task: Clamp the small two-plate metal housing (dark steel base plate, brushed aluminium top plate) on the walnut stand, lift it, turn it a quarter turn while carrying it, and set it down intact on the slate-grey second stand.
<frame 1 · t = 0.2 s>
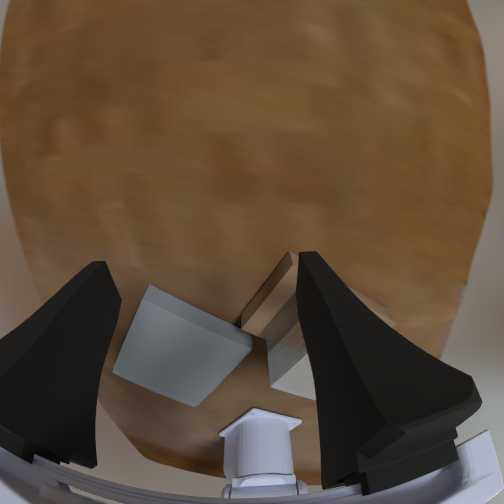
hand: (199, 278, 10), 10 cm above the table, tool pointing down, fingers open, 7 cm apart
stand a: (320, 313, 24), on the table
housing: (325, 328, 22), point 2 cm above the table, touching stand a
stand b: (176, 349, 26), on the table
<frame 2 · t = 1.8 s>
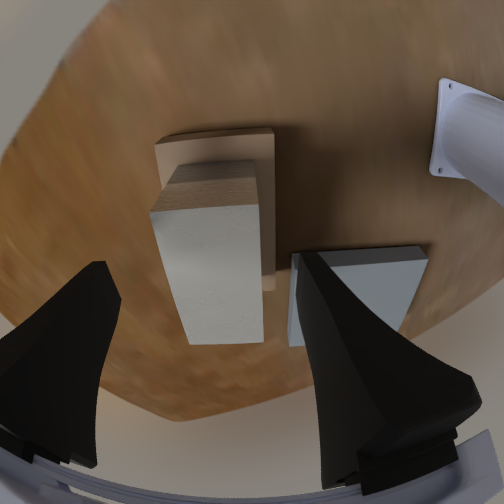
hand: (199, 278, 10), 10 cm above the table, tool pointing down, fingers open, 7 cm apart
stand a: (223, 212, 20), on the table
housing: (222, 226, 19), point 2 cm above the table, touching stand a
stand b: (351, 292, 25), on the table
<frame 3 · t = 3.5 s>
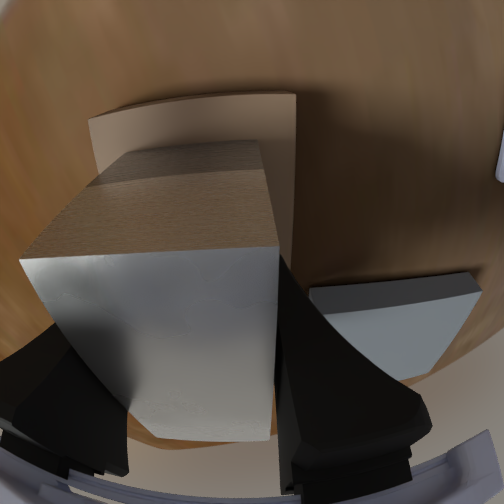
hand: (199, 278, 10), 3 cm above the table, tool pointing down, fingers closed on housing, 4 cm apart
stand a: (208, 229, 13), on the table
housing: (203, 255, 11), point 2 cm above the table, touching gripper, stand a
stand b: (381, 331, 18), on the table
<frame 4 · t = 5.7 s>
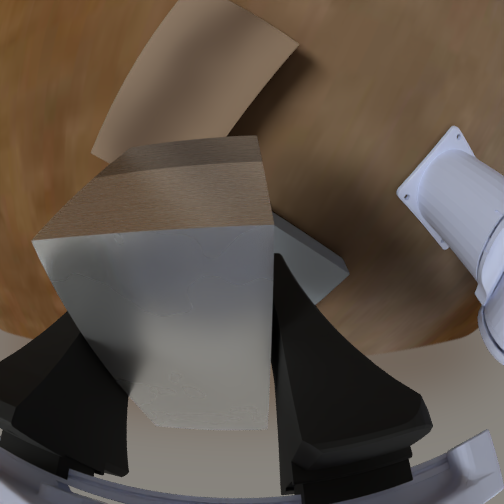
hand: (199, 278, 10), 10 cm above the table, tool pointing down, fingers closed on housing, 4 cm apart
stand a: (188, 91, 15), on the table
housing: (204, 247, 12), point 8 cm above the table, touching gripper
stand b: (249, 266, 23), on the table
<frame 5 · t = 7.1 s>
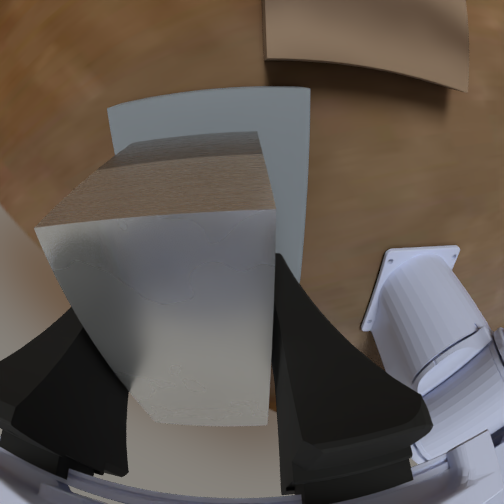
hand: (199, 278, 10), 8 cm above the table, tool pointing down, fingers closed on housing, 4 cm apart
stand a: (369, 15, 10), on the table
housing: (204, 242, 12), point 6 cm above the table, touching gripper
stand b: (216, 188, 17), on the table
when the fingers open (5 cm above the table, at t = 8.2 s): housing stays where it is, resting on stand b.
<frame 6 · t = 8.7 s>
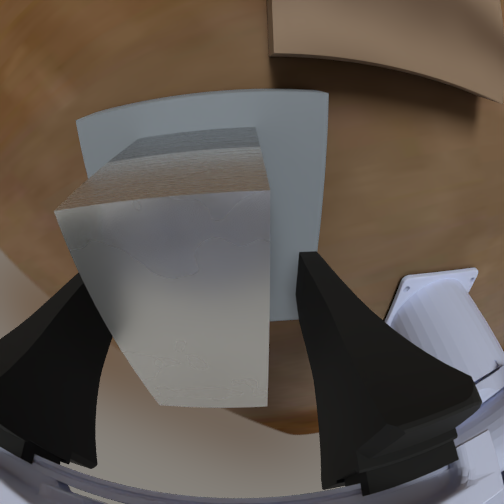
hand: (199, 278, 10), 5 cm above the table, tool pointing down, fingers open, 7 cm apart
stand a: (395, 7, 8), on the table
housing: (206, 232, 12), point 2 cm above the table, touching stand b
stand b: (211, 213, 14), on the table
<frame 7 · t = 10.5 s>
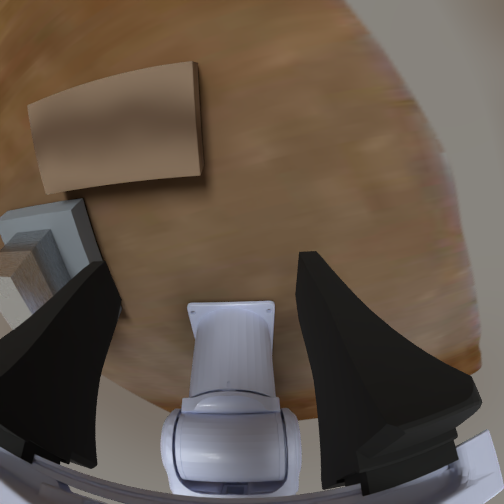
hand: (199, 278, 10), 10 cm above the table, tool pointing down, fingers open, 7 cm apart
stand a: (114, 126, 16), on the table
housing: (51, 273, 20), point 2 cm above the table, touching stand b
stand b: (60, 261, 22), on the table
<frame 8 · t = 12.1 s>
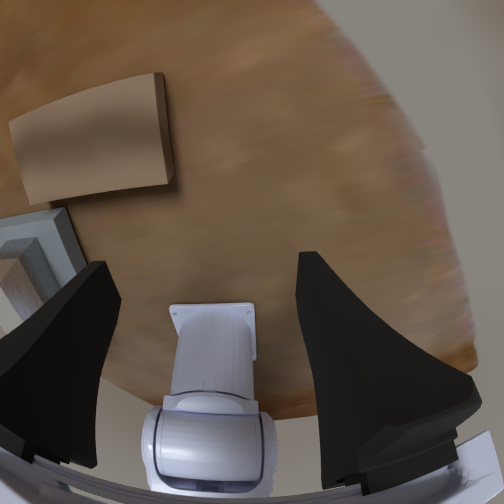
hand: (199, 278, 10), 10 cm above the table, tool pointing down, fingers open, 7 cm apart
stand a: (89, 138, 16), on the table
housing: (40, 278, 21), point 2 cm above the table, touching stand b
stand b: (49, 266, 23), on the table
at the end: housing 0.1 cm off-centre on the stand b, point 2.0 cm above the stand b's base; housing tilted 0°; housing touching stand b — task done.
